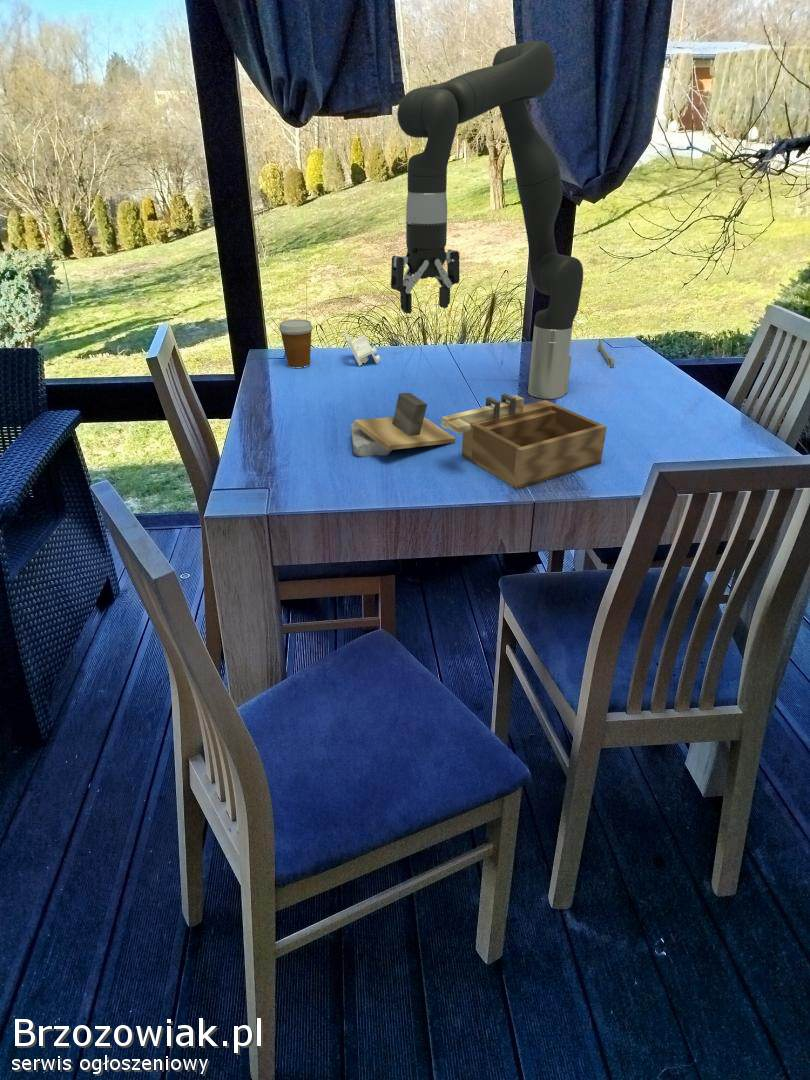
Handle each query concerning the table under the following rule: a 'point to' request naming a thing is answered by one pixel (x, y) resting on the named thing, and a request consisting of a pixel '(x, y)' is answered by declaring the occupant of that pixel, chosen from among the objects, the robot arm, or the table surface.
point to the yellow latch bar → (478, 415)
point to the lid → (405, 426)
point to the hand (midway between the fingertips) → (425, 310)
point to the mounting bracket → (361, 349)
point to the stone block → (365, 444)
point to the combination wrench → (605, 354)
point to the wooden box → (533, 442)
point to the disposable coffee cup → (296, 341)
